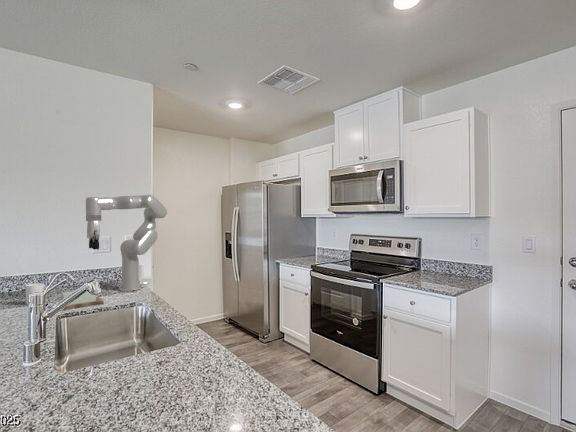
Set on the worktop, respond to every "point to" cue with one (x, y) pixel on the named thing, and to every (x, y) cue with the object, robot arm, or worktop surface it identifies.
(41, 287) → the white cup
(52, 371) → the worktop surface
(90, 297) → the housing
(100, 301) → the stub board
